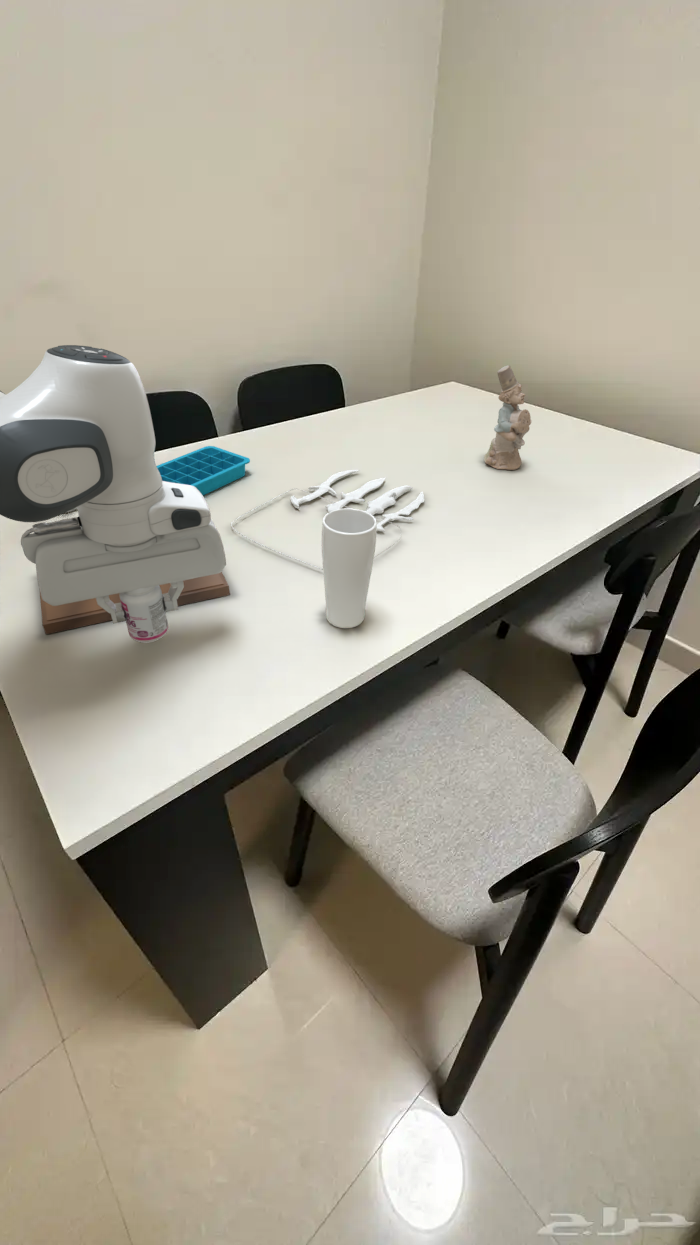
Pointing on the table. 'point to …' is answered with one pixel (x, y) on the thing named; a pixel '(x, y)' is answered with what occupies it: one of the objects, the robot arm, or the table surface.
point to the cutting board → (93, 613)
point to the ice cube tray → (204, 468)
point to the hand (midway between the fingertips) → (145, 613)
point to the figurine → (509, 424)
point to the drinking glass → (347, 564)
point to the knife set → (357, 501)
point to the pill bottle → (145, 614)
